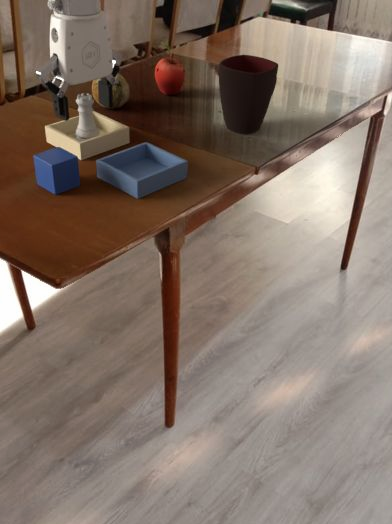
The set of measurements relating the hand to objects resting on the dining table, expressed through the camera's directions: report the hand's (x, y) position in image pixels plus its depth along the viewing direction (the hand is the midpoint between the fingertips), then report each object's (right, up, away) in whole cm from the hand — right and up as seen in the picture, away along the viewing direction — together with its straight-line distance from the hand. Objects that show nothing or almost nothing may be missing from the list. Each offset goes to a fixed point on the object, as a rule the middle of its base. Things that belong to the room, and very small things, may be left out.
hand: (84, 111), depth 111 cm
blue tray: (+11, -13, -6) cm, 18 cm away
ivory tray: (0, -4, +4) cm, 6 cm away
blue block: (-3, -15, -9) cm, 18 cm away
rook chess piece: (0, -4, +4) cm, 5 cm away
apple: (+14, +13, +25) cm, 31 cm away
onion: (+2, +8, +18) cm, 20 cm away
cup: (+30, +2, +13) cm, 33 cm away
